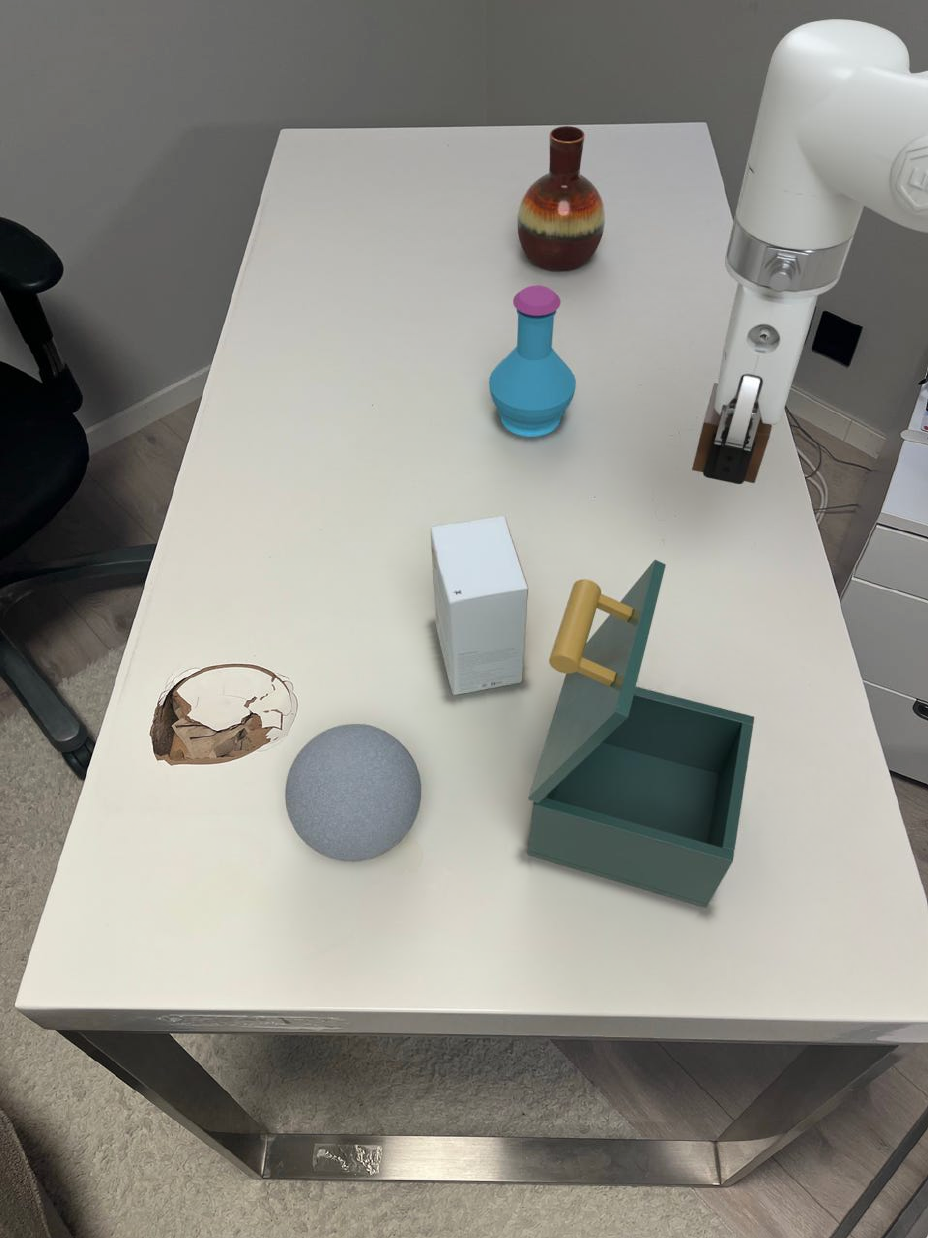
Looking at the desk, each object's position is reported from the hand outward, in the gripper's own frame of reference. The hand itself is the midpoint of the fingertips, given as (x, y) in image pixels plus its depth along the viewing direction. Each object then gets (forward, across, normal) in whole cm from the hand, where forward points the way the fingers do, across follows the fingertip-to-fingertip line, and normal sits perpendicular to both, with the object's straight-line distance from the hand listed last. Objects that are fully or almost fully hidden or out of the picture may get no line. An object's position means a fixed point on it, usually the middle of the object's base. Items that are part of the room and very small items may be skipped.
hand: (729, 452), depth 73 cm
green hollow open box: (+15, -26, 0) cm, 30 cm away
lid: (-1, -26, +4) cm, 26 cm away
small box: (+15, -15, +17) cm, 27 cm away
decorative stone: (+15, -33, +20) cm, 42 cm away
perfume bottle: (+15, +17, +21) cm, 31 cm away
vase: (+15, +49, +27) cm, 58 cm away
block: (0, 0, 0) cm, 0 cm away
